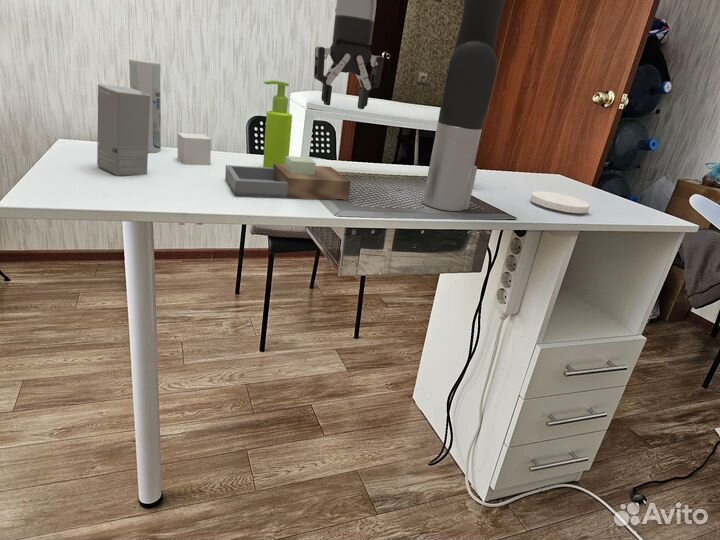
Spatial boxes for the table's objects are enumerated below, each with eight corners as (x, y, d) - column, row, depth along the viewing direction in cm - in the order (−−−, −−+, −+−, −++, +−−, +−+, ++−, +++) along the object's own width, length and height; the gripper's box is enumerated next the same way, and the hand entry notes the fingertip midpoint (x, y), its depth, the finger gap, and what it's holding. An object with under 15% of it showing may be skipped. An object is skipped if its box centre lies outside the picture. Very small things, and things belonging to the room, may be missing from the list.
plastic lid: (517, 199, 129) (520, 190, 128) (559, 201, 135) (562, 192, 134) (555, 216, 118) (558, 206, 117) (599, 217, 123) (602, 208, 122)
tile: (307, 169, 107) (309, 157, 106) (314, 174, 103) (315, 162, 102) (284, 167, 105) (285, 155, 104) (290, 173, 101) (291, 161, 100)
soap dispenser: (256, 165, 122) (261, 78, 114) (283, 166, 125) (290, 82, 117) (262, 171, 117) (268, 80, 109) (290, 172, 120) (298, 84, 112)
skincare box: (96, 167, 100) (91, 83, 94) (131, 165, 105) (128, 85, 99) (117, 177, 95) (113, 89, 89) (152, 174, 101) (151, 91, 95)
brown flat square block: (328, 184, 114) (330, 166, 113) (348, 200, 103) (350, 181, 102) (272, 181, 109) (273, 163, 108) (286, 198, 98) (288, 178, 97)
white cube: (210, 165, 116) (211, 139, 113) (183, 165, 113) (183, 137, 110) (203, 159, 120) (203, 134, 118) (177, 158, 117) (177, 132, 115)
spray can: (132, 146, 122) (129, 58, 115) (161, 148, 125) (160, 62, 117) (131, 151, 117) (128, 59, 109) (161, 153, 119) (160, 63, 112)
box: (272, 181, 109) (273, 167, 108) (286, 198, 98) (288, 183, 97) (225, 179, 105) (225, 165, 104) (234, 196, 94) (235, 180, 93)
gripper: (325, 9, 90) (315, 105, 96) (396, 22, 95) (383, 113, 101) (313, 10, 96) (304, 100, 102) (381, 23, 101) (369, 108, 108)
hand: (344, 106), depth 102 cm, fingers open, 7 cm apart
